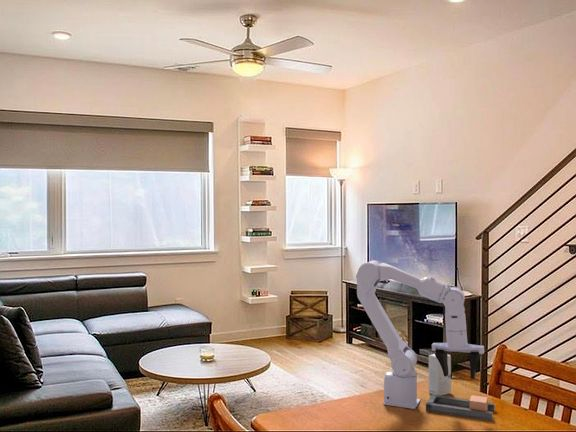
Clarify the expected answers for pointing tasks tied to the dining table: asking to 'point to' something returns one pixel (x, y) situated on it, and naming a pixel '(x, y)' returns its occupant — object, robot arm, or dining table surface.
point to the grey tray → (458, 407)
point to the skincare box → (439, 377)
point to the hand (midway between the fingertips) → (459, 376)
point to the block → (478, 403)
